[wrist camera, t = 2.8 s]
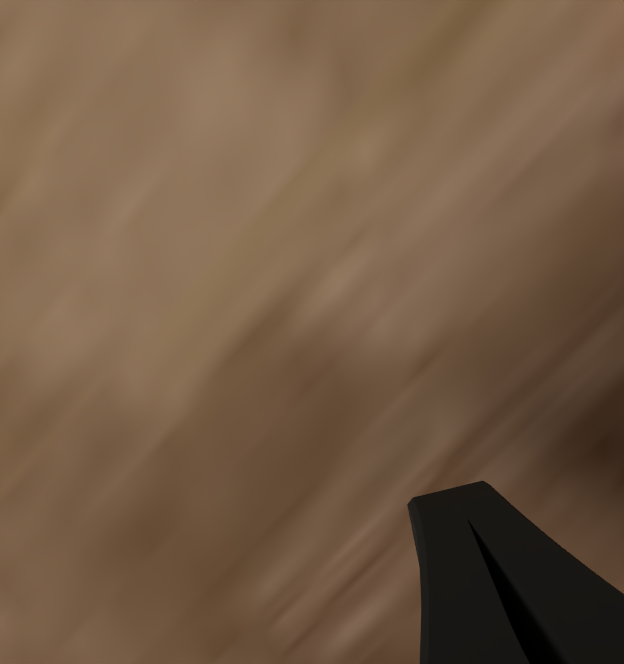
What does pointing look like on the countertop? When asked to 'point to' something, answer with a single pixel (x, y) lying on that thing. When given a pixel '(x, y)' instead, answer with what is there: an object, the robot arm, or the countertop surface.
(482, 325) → the countertop surface
